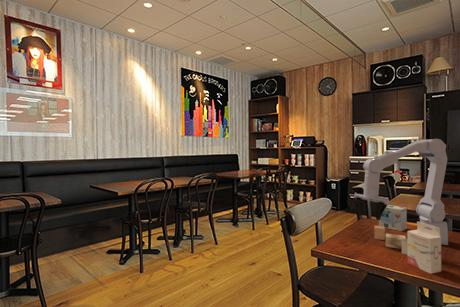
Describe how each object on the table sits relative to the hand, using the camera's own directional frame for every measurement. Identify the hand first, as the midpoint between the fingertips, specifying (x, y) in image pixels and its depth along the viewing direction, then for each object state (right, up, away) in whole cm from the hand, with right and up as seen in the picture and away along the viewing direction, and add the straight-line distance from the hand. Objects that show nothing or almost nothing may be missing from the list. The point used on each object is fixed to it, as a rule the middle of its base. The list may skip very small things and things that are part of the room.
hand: (369, 217), depth 116 cm
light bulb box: (+22, -10, +19) cm, 30 cm away
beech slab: (+8, -11, -5) cm, 14 cm away
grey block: (+8, -11, -13) cm, 19 cm away
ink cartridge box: (+5, -11, -25) cm, 28 cm away
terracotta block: (+7, -10, +4) cm, 13 cm away
